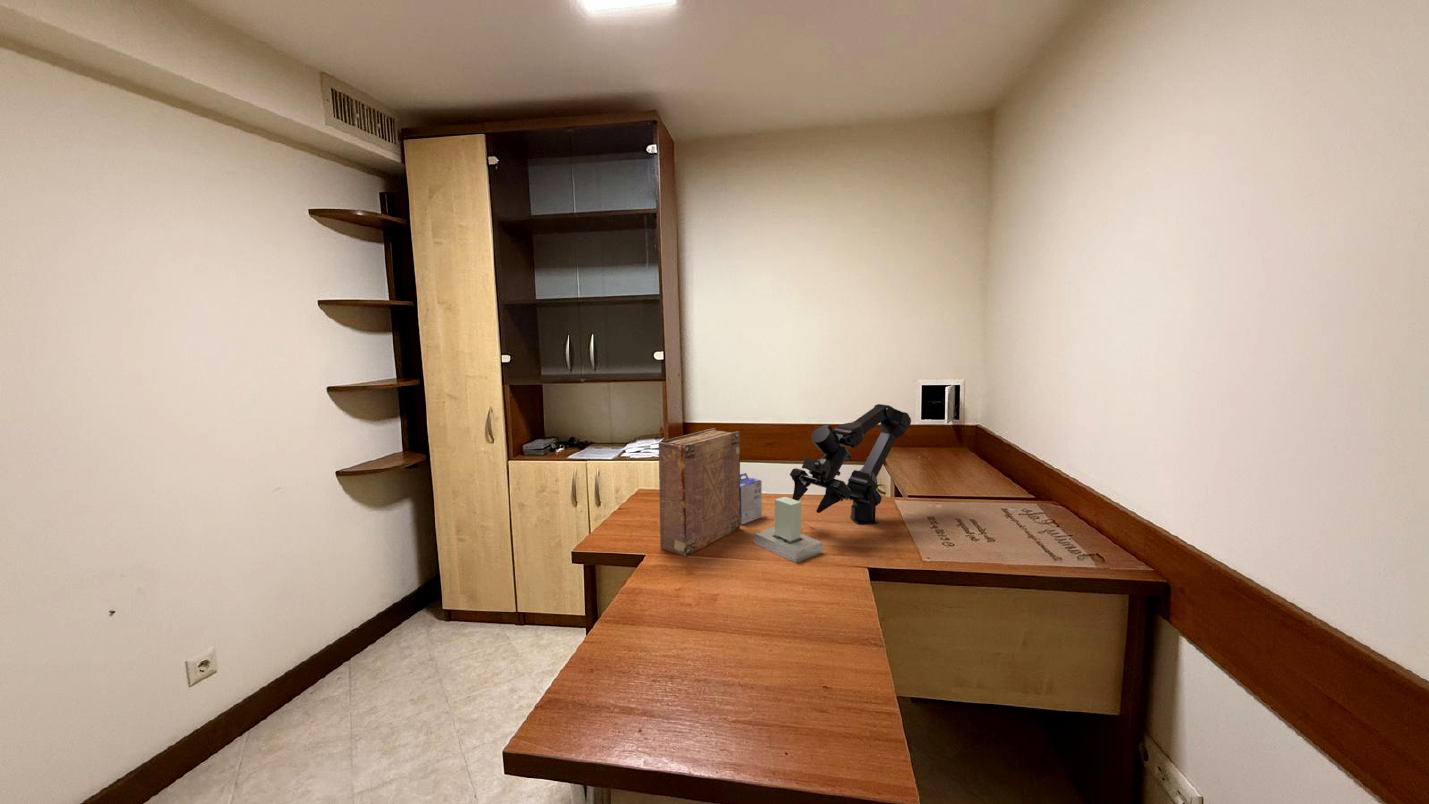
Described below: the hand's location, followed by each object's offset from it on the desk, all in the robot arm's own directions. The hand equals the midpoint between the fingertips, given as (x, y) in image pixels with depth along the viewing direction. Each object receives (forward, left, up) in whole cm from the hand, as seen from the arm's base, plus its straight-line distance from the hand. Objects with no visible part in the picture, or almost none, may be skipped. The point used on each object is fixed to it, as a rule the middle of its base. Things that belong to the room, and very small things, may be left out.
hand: (804, 508), depth 148 cm
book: (+28, -8, -10) cm, 31 cm away
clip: (+6, +3, -10) cm, 12 cm away
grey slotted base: (+6, +3, -10) cm, 12 cm away
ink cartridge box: (+12, -21, -10) cm, 26 cm away
